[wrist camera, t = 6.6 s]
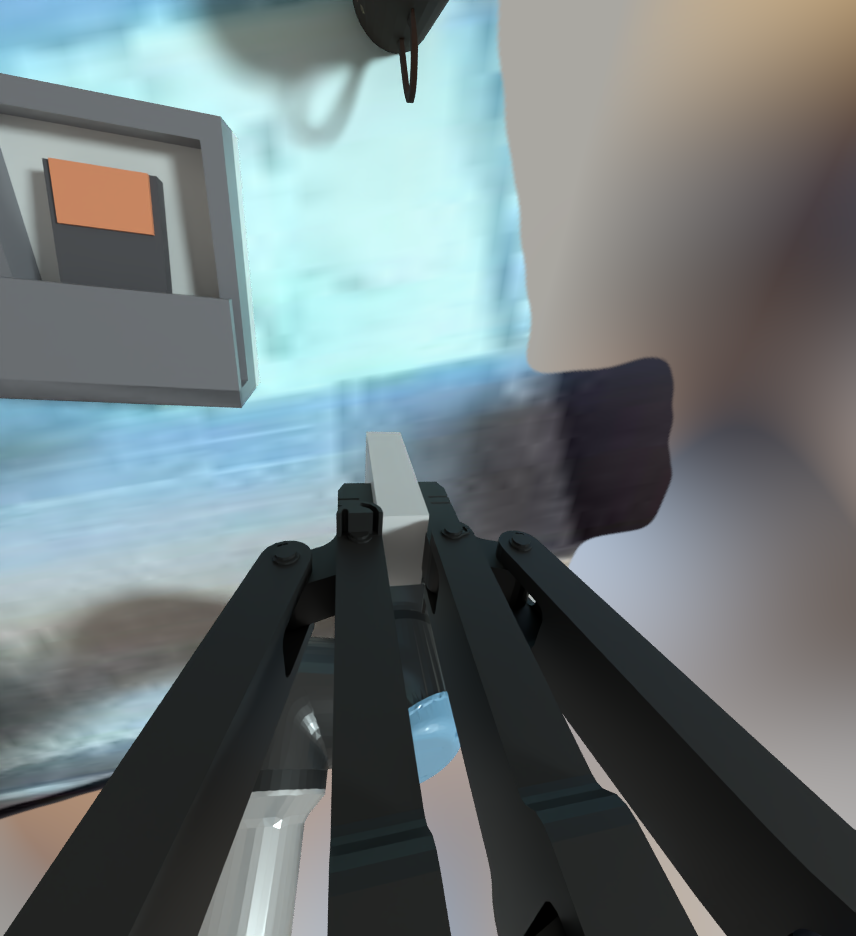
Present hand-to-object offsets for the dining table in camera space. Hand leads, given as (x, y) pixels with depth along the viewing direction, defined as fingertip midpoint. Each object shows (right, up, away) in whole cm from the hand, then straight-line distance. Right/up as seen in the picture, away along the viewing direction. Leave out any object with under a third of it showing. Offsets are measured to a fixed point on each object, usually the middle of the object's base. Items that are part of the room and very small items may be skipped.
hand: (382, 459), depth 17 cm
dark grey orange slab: (-22, +15, +12) cm, 29 cm away
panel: (-23, +18, +16) cm, 33 cm away
